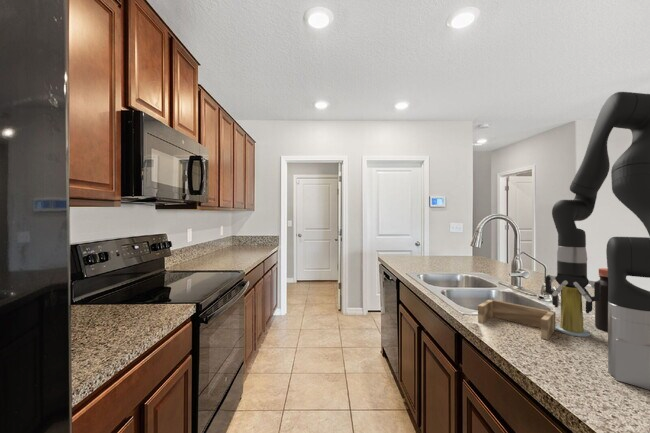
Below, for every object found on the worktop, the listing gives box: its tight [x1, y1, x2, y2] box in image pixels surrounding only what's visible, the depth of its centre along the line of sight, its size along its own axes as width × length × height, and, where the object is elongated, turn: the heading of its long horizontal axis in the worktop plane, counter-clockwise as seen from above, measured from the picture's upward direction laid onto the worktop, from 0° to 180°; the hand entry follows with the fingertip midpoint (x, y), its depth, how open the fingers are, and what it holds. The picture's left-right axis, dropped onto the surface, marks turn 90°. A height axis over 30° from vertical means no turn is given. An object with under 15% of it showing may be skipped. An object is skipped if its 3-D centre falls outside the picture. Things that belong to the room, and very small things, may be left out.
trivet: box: [555, 323, 591, 338], centre depth 96 cm, size 9×9×1 cm
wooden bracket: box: [477, 298, 556, 340], centre depth 101 cm, size 12×20×6 cm, turn 42°
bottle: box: [594, 267, 608, 333], centre depth 97 cm, size 7×7×20 cm
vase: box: [559, 286, 585, 333], centre depth 96 cm, size 6×6×14 cm
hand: (571, 309), depth 96 cm, fingers open, 7 cm apart
